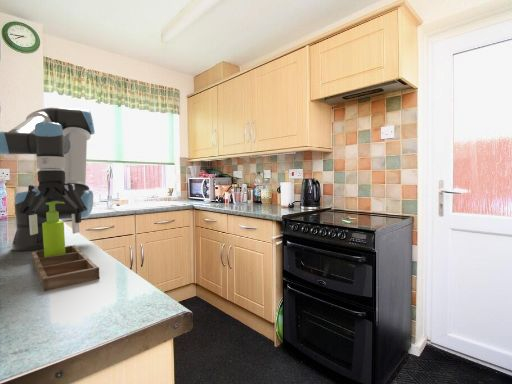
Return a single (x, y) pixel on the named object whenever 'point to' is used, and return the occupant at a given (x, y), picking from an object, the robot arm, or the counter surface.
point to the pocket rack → (64, 268)
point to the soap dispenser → (53, 232)
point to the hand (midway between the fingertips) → (55, 233)
